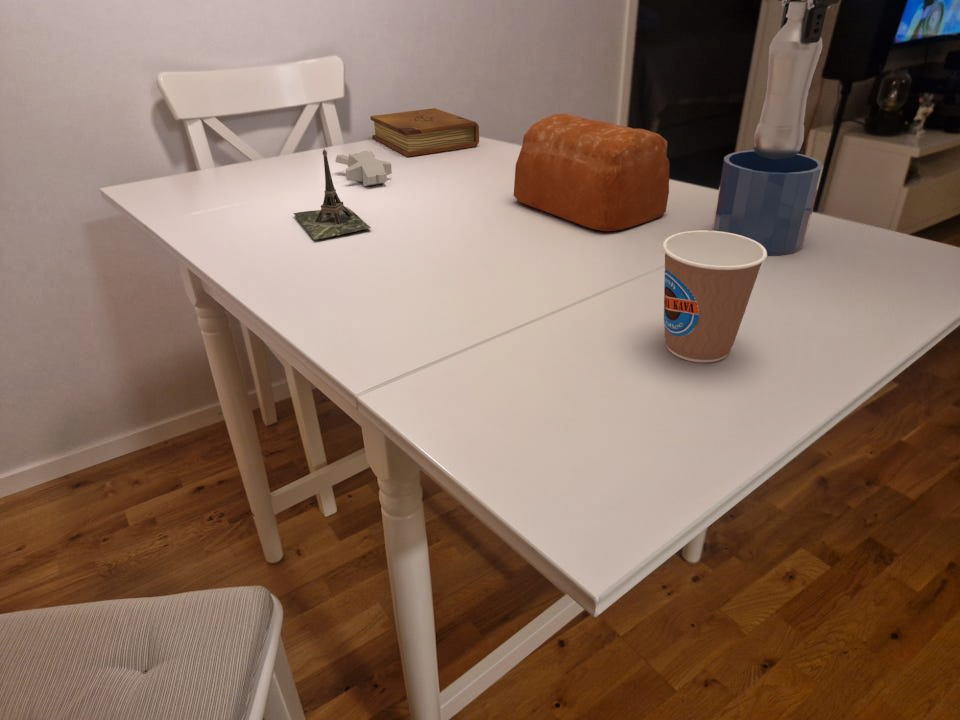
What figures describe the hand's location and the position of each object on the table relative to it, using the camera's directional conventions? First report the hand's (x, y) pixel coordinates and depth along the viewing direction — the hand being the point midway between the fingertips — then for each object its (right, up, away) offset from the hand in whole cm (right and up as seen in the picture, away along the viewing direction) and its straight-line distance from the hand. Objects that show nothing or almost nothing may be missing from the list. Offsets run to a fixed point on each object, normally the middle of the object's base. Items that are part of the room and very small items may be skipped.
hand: (798, 39), depth 88 cm
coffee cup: (-18, -41, -13) cm, 47 cm away
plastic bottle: (0, -13, +8) cm, 16 cm away
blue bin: (+1, -24, +15) cm, 28 cm away
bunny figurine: (-66, -5, +49) cm, 82 cm away
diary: (-56, +11, +76) cm, 95 cm away
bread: (-23, -16, +29) cm, 41 cm away
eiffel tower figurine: (-68, -19, +26) cm, 75 cm away
